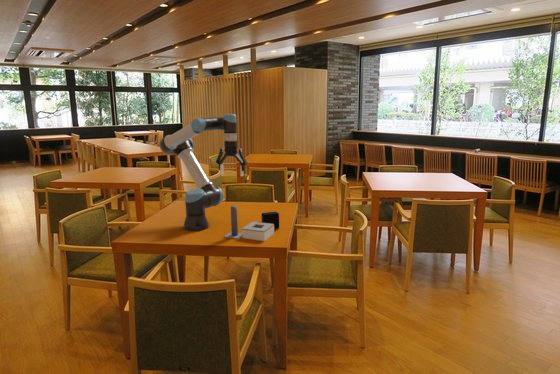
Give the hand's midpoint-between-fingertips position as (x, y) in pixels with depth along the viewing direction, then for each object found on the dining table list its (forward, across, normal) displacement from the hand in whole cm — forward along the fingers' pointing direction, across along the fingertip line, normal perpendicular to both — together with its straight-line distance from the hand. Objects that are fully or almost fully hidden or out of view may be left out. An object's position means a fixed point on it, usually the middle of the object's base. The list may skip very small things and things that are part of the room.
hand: (231, 175), depth 232 cm
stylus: (+32, +8, -14) cm, 36 cm away
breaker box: (+33, +21, -9) cm, 40 cm away
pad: (+33, +8, -14) cm, 36 cm away
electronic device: (+33, +23, +5) cm, 40 cm away
